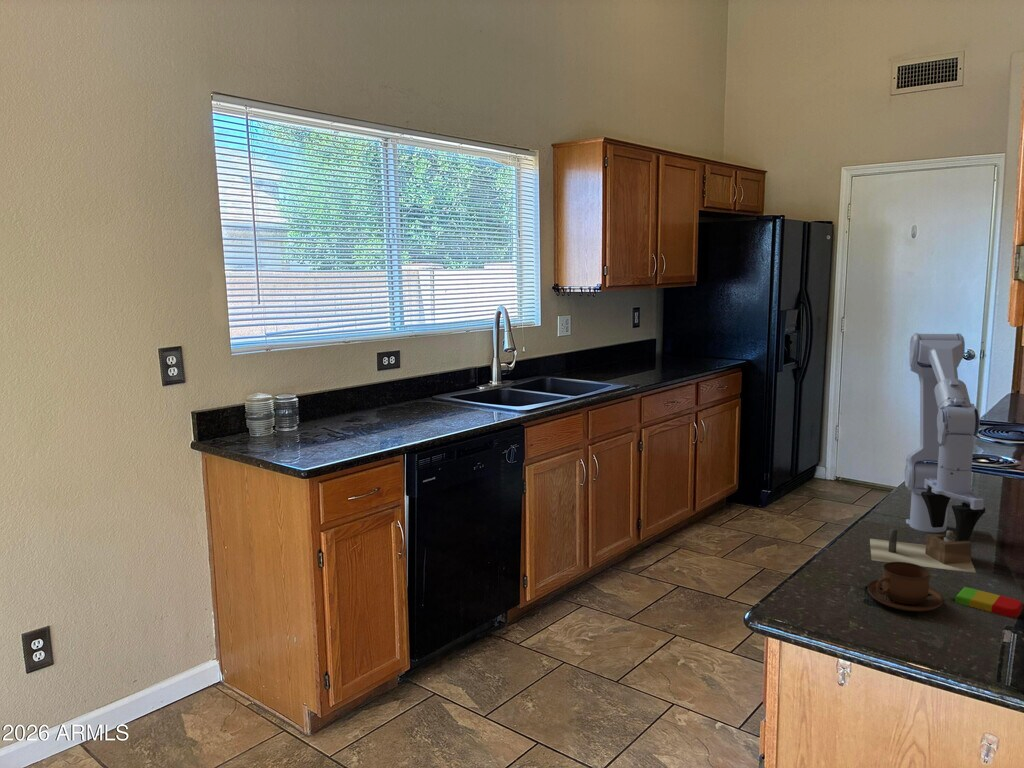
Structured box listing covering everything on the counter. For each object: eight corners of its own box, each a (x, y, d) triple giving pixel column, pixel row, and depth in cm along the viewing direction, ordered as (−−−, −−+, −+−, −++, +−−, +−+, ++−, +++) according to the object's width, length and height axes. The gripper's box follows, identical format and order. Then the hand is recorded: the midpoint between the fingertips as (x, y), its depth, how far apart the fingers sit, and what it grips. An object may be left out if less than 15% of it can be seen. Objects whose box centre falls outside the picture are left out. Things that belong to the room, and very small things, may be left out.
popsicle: (1016, 621, 128) (1017, 610, 128) (919, 596, 138) (920, 586, 138) (1023, 610, 132) (1024, 600, 132) (928, 587, 142) (929, 577, 142)
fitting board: (869, 543, 164) (871, 513, 163) (966, 554, 156) (968, 523, 156) (871, 564, 152) (872, 533, 151) (975, 577, 145) (978, 545, 144)
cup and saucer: (921, 624, 127) (924, 589, 126) (853, 600, 137) (855, 567, 136) (955, 605, 134) (958, 571, 133) (888, 583, 144) (890, 551, 143)
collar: (925, 553, 154) (926, 534, 154) (950, 552, 155) (952, 533, 155) (943, 564, 149) (945, 544, 148) (970, 562, 150) (971, 542, 149)
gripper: (912, 458, 156) (908, 522, 158) (961, 478, 142) (955, 547, 144) (944, 457, 157) (939, 520, 159) (996, 476, 142) (990, 545, 145)
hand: (949, 533), depth 151 cm, fingers open, 7 cm apart
